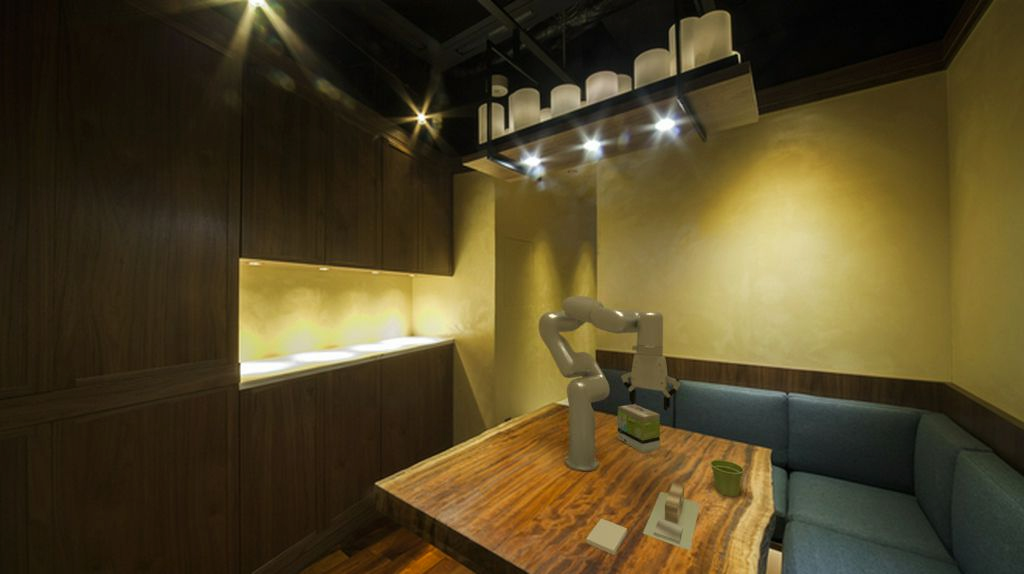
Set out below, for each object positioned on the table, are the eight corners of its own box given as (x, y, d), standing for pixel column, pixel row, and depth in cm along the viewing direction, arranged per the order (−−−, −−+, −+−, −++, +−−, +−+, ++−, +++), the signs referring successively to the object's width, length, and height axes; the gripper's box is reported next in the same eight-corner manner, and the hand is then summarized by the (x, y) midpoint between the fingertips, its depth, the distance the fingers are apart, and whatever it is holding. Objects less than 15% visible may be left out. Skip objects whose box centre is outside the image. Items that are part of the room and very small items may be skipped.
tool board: (660, 494, 110) (660, 491, 111) (699, 506, 104) (699, 503, 104) (642, 536, 90) (642, 533, 90) (690, 554, 84) (690, 550, 84)
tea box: (616, 439, 154) (616, 405, 154) (633, 436, 158) (634, 403, 159) (642, 453, 140) (642, 416, 141) (660, 449, 144) (660, 413, 145)
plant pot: (703, 486, 116) (703, 459, 116) (730, 485, 117) (730, 459, 117) (722, 502, 107) (722, 473, 107) (751, 501, 107) (751, 472, 108)
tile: (601, 518, 95) (586, 538, 87) (627, 528, 91) (613, 550, 83) (601, 526, 95) (586, 547, 87) (627, 537, 91) (613, 560, 82)
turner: (667, 497, 107) (667, 480, 108) (689, 503, 104) (689, 486, 104) (653, 534, 90) (653, 515, 90) (679, 544, 87) (679, 523, 87)
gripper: (618, 349, 111) (617, 404, 110) (678, 355, 101) (678, 415, 101) (625, 347, 117) (624, 398, 117) (681, 352, 108) (681, 408, 107)
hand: (649, 406), depth 109 cm, fingers open, 9 cm apart
